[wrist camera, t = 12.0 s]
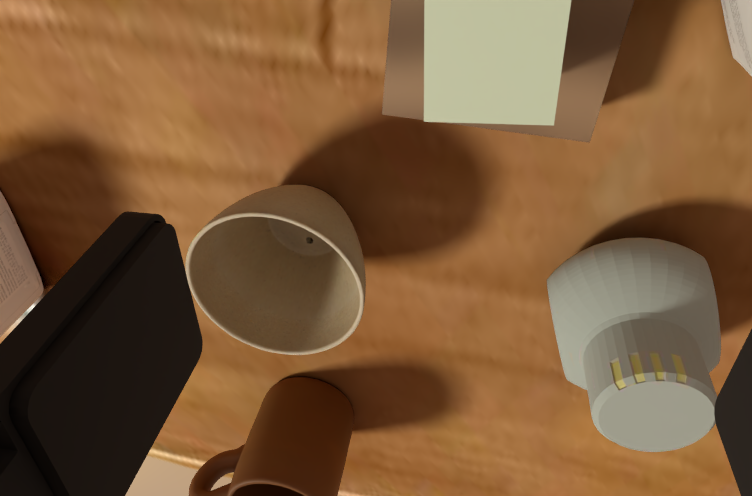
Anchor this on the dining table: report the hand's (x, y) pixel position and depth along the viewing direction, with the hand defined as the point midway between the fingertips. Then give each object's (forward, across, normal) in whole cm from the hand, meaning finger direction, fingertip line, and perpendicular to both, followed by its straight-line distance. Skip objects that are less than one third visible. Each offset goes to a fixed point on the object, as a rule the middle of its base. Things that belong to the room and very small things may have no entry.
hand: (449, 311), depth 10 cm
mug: (+23, +13, +33) cm, 43 cm away
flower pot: (+24, +10, +14) cm, 29 cm away
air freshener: (+24, -10, +18) cm, 31 cm away
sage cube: (+20, -1, +1) cm, 20 cm away
